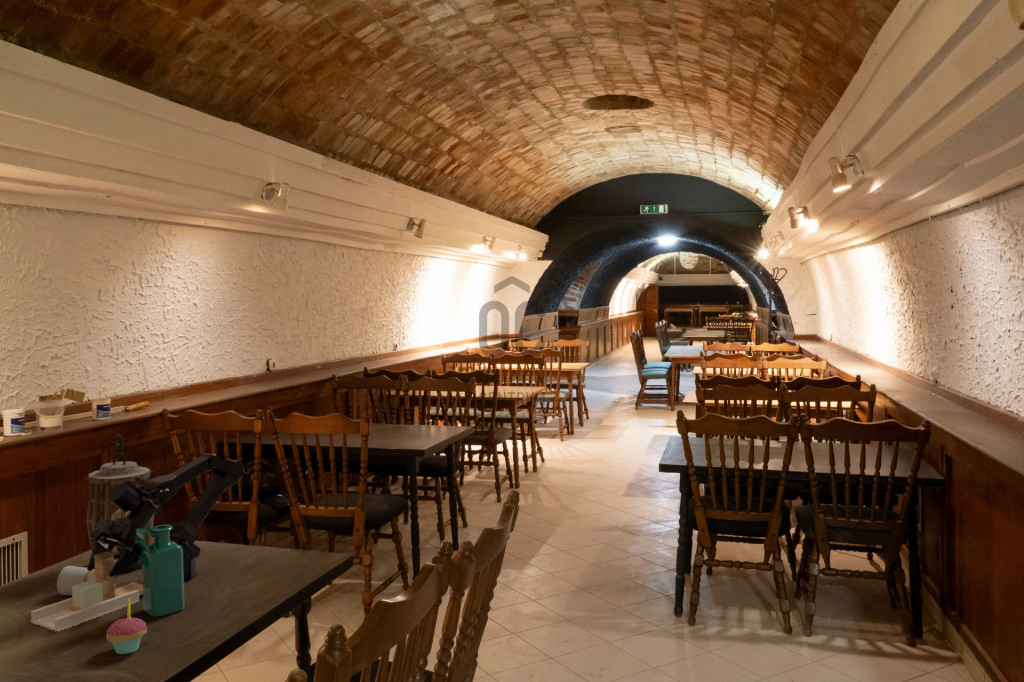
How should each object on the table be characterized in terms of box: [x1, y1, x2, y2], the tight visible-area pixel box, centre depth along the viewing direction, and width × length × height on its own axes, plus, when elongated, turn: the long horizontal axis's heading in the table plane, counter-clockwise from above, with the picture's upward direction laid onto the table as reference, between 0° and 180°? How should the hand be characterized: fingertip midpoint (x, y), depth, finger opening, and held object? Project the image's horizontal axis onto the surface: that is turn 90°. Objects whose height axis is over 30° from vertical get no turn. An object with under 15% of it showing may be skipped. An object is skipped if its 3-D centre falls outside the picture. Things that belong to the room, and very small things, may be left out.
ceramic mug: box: [56, 565, 95, 596], centre depth 221 cm, size 11×8×8 cm
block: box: [71, 580, 103, 609], centre depth 207 cm, size 5×5×5 cm
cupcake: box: [105, 595, 148, 655], centre depth 185 cm, size 9×8×12 cm
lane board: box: [30, 583, 140, 633], centre depth 207 cm, size 22×11×3 cm, turn 150°
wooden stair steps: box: [69, 552, 143, 611], centre depth 212 cm, size 18×8×13 cm, turn 150°
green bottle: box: [136, 524, 185, 618], centre depth 207 cm, size 10×8×22 cm
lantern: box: [82, 433, 156, 575], centre depth 242 cm, size 19×19×40 cm
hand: (99, 573), depth 210 cm, fingers open, 9 cm apart
